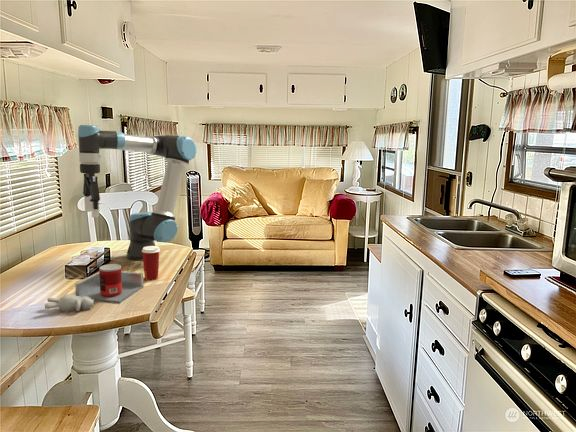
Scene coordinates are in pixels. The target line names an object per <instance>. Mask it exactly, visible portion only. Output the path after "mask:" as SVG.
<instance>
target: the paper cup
mask: <svg viewBox="0 0 576 432" xmlns="http://www.w3.org/2000/svg"><path fill="white" fill-rule="evenodd" d="M142 252H143V260H142V262H143V277H144V280H146V281H157V280H158V279H159V270H160V269H159V267H160V265H159V264H160V252H161V249H160V247H159V246H156V245H155V246H146V247H144V248H143V250H142Z"/></svg>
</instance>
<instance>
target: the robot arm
mask: <svg viewBox="0 0 576 432" xmlns="http://www.w3.org/2000/svg"><path fill="white" fill-rule="evenodd" d="M77 133H78V134H77V137H78V158H79V159H78V160H79V171H80V172H79V173H81V174H83V189H82V195H83V196H84V197H83V199H84V212H85V213H89V212H90V213H91V218H99V217H100V200H101V197H100V191H99V182H98V176H96V174H100V172H101V165H100V158H102V155H100V150H101V149H105V150H109V149H110V150H117V151H118V150H119V151H129V152H130V151H131V152H141V153H142V152H143V153H146V154H148V155H152V156H158V157H162V158H165V161H166V167H165V172H164V175H163V179H162V183H161V188H160V191H159V196H158V199H157V203H156V208H155V209H154V210H153V211H152V212H151V211H148V212H147V211H145V212H143V211H141V212H135V213H132V214H130V215H129V246H128V247H127V248H128V249H127V251H126V258H127V259H128V260H131V261H143V252H142V250H143V248H144V247H146V246H156V243H155V241H156V242H157V243H168V242H171V241H172V240H173V239H174V238H175V237H176V236H177V233H178V231H179V230H178V228H179V226H178V223H177V222H176V221H175V220H176V215H175V214H174V212H175V208H176V204H177V200H178V196H179V191H180V188H181V183H182V179H183V174H184V170H185V168H186V167H188V166H189V164H190V161H191V160H193V159H194V158H195V157H196V155H197V146H196V143H195V140H193V138H192V137H190V136H188V135H187V136H186V135H174V134H173V135H171V134H170V135H169V134H168V135H167V134H165V135H147V136H143V135H135V134H127V133H126V134H125V133H124V132H122V131H118V130H117V131H116V130H100V129H99V126H98V125H93V124H92V125H90V124H80V125H79V126H78V128H77Z"/></svg>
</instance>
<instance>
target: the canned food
mask: <svg viewBox="0 0 576 432" xmlns="http://www.w3.org/2000/svg"><path fill="white" fill-rule="evenodd" d="M98 268H99V269H98V272H99V275H100V294H101V296H103V297H114V296H118V295H120V294H121V292H122V275H121V271H122V266H121V265H120V264H119V263H118V264H117V263H108V264H104V265H100V266H99V267H98Z"/></svg>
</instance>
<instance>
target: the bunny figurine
mask: <svg viewBox="0 0 576 432" xmlns="http://www.w3.org/2000/svg"><path fill="white" fill-rule="evenodd" d="M47 302H48V303H45V304H44V309H45V310H49V309H54V308H58V307H59V309H60V310H61V311H62V312H63V313H64V312H66V313H67V312H68V313H69V312H73V311H76V312H79V311H80V310H81V311H87V310H90V308H93V307H94V302H95V301H94V299H91V298H90V297H88V296H83V297H82V296H76V294H69V293H68V294H64V295H62V296H61V297H60V298H54V297H49V298H47Z"/></svg>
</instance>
